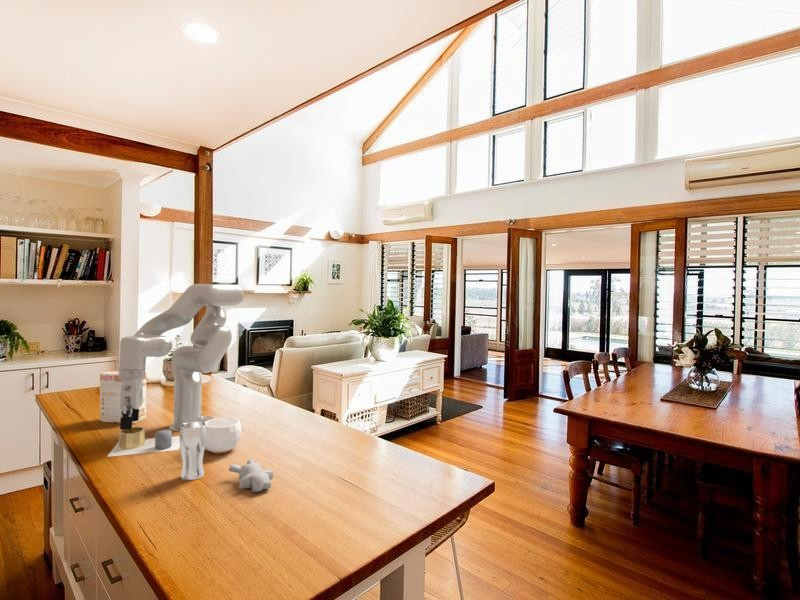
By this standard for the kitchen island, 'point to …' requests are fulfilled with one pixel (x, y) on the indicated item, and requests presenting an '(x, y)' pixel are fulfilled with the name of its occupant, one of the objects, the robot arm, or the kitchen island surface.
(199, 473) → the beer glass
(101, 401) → the coffeecake box
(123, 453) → the stand
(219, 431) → the cup
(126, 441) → the brass ring
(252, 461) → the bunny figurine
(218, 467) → the kitchen island surface
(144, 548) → the kitchen island surface
